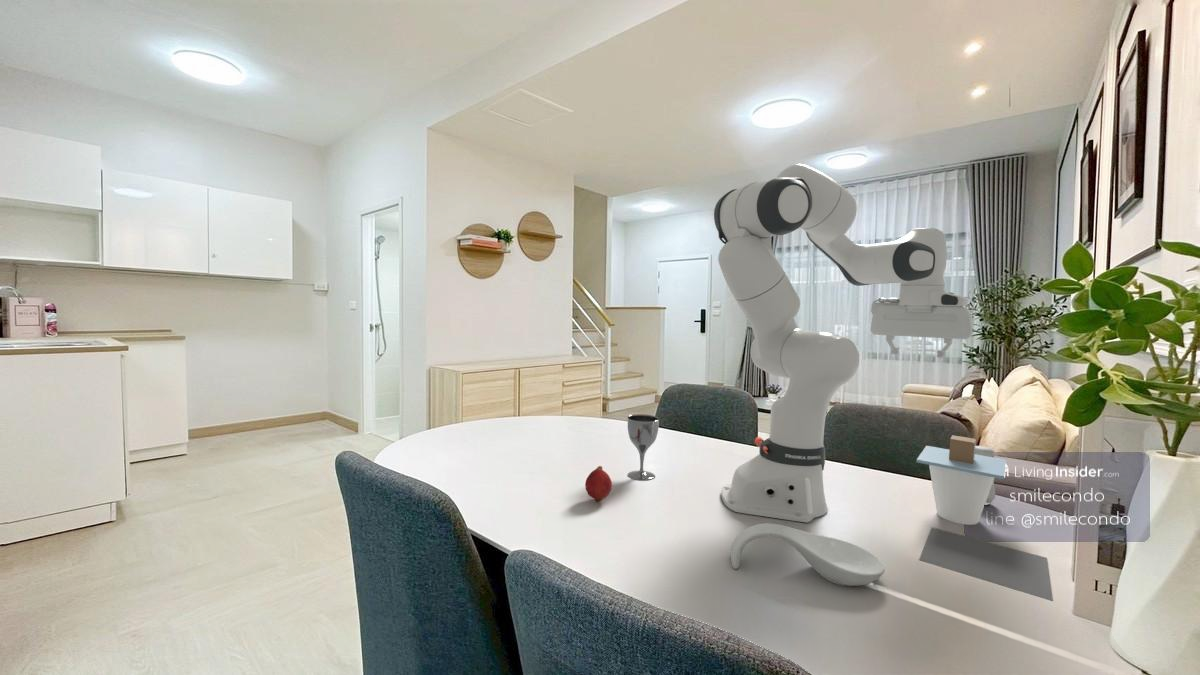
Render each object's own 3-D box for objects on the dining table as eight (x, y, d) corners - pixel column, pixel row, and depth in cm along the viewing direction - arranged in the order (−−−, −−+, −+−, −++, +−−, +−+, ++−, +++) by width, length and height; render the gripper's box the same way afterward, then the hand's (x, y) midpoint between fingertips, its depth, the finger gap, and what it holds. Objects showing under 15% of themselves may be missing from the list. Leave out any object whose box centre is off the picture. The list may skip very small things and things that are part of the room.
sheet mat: (1052, 604, 73) (1053, 600, 73) (918, 563, 84) (919, 559, 84) (1046, 561, 85) (1047, 557, 85) (931, 530, 97) (931, 527, 96)
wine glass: (621, 471, 126) (623, 414, 125) (650, 469, 128) (652, 413, 127) (631, 482, 118) (633, 422, 117) (661, 479, 120) (663, 421, 119)
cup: (910, 511, 105) (914, 455, 105) (949, 505, 109) (953, 451, 108) (965, 536, 94) (970, 474, 93) (1007, 529, 98) (1012, 469, 97)
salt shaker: (1000, 508, 108) (1005, 452, 107) (971, 506, 109) (976, 449, 108) (985, 498, 114) (989, 444, 113) (958, 496, 115) (962, 442, 114)
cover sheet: (1004, 479, 91) (1006, 453, 91) (916, 462, 100) (918, 438, 100) (1005, 462, 102) (1007, 439, 101) (926, 448, 111) (927, 426, 110)
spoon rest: (866, 561, 84) (868, 521, 84) (896, 602, 73) (900, 556, 72) (727, 548, 88) (729, 509, 87) (735, 584, 76) (737, 540, 76)
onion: (587, 507, 103) (588, 470, 102) (583, 496, 109) (583, 462, 108) (613, 505, 104) (614, 469, 104) (608, 495, 110) (609, 461, 109)
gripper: (868, 297, 119) (865, 353, 120) (973, 298, 105) (968, 361, 106) (875, 298, 124) (871, 351, 125) (975, 298, 110) (971, 358, 111)
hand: (917, 356), depth 115 cm, fingers open, 8 cm apart
